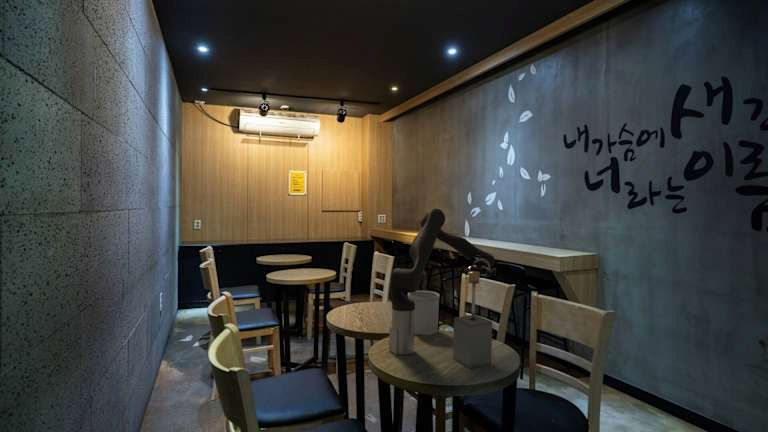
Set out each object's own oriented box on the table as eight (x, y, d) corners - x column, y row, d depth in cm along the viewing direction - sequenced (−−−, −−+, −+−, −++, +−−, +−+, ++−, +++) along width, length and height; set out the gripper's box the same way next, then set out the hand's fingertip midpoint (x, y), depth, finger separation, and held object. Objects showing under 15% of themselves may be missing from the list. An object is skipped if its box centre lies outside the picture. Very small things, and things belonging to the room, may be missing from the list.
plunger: (470, 337, 151) (472, 274, 151) (458, 331, 158) (459, 271, 157) (487, 335, 154) (488, 273, 154) (474, 329, 161) (475, 270, 161)
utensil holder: (437, 337, 185) (438, 298, 184) (404, 334, 188) (405, 296, 187) (439, 327, 199) (440, 291, 199) (409, 325, 202) (410, 289, 202)
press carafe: (469, 368, 150) (470, 324, 149) (453, 358, 159) (454, 317, 158) (491, 364, 154) (492, 321, 154) (473, 355, 163) (475, 314, 163)
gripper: (464, 258, 183) (459, 262, 167) (497, 260, 178) (495, 265, 163) (464, 275, 183) (458, 281, 168) (497, 277, 178) (494, 284, 163)
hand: (476, 273), depth 165 cm, fingers open, 8 cm apart
